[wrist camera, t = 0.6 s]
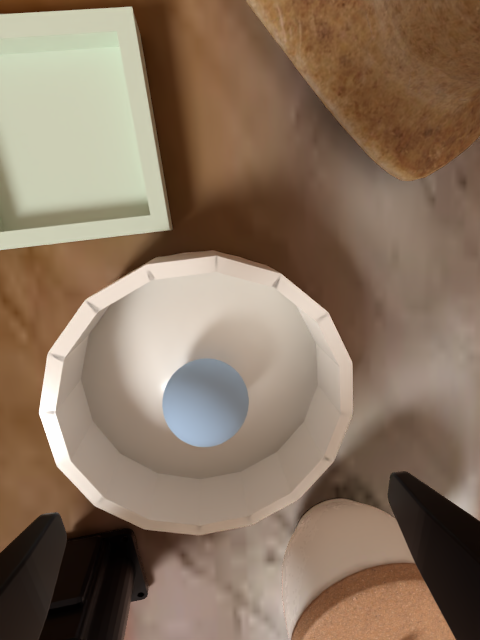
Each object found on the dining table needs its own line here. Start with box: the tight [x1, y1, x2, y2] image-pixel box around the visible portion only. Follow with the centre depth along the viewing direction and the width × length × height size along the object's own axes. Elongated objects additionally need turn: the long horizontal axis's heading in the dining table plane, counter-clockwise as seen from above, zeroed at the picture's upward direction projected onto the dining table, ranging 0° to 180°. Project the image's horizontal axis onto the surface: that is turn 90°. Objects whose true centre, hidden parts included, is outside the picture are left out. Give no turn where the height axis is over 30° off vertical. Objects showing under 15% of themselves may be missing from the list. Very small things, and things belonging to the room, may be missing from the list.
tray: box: [0, 7, 173, 250], centre depth 15 cm, size 9×9×2 cm
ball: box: [162, 358, 249, 447], centre depth 17 cm, size 5×5×5 cm
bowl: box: [39, 250, 353, 536], centre depth 18 cm, size 15×15×4 cm
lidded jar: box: [282, 498, 456, 640], centre depth 21 cm, size 11×11×9 cm
